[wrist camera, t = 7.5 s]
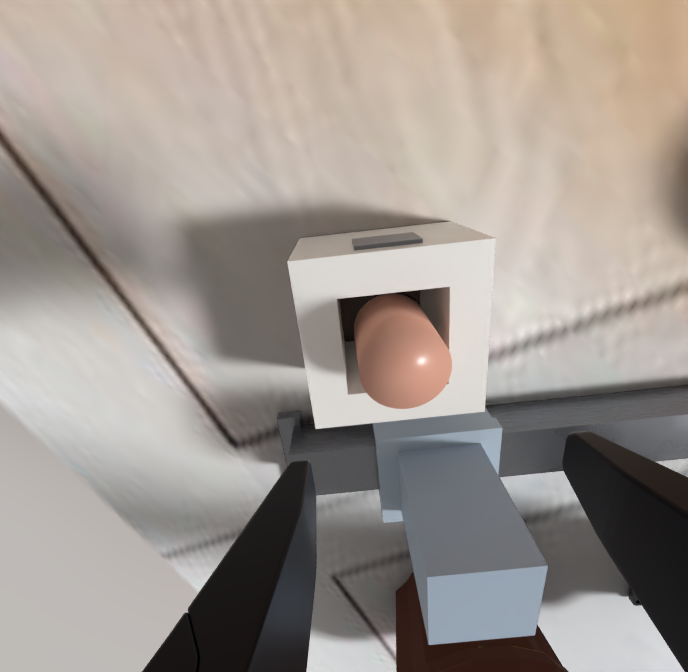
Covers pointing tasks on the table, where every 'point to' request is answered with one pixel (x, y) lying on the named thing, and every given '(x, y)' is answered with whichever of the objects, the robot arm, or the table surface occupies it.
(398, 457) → the carriage
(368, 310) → the button
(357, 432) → the rail
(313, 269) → the white button housing
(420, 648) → the muffin
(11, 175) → the table surface
